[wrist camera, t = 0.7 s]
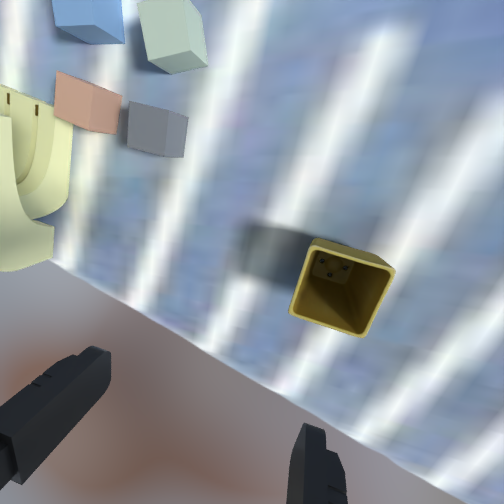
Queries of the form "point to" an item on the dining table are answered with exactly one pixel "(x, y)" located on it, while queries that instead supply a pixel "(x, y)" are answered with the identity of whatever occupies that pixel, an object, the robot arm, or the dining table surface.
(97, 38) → the blue block
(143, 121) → the charcoal block
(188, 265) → the dining table surface
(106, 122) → the terracotta block
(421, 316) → the dining table surface
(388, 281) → the flower pot
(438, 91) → the dining table surface
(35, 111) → the slatted curved stool
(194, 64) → the sage block
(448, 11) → the dining table surface
